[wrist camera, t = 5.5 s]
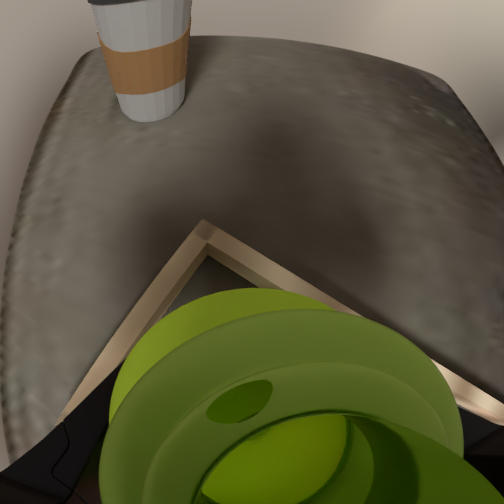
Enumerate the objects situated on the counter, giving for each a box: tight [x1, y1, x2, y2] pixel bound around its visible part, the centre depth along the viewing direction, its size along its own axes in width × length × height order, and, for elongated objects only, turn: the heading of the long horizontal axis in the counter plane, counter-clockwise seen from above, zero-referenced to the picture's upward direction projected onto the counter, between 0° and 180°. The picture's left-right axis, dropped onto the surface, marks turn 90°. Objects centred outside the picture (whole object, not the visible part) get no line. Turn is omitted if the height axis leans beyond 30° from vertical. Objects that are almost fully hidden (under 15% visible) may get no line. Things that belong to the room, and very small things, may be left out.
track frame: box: [55, 219, 504, 425], centre depth 14 cm, size 44×16×2 cm, turn 58°
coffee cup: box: [88, 0, 192, 122], centre depth 19 cm, size 8×8×15 cm
